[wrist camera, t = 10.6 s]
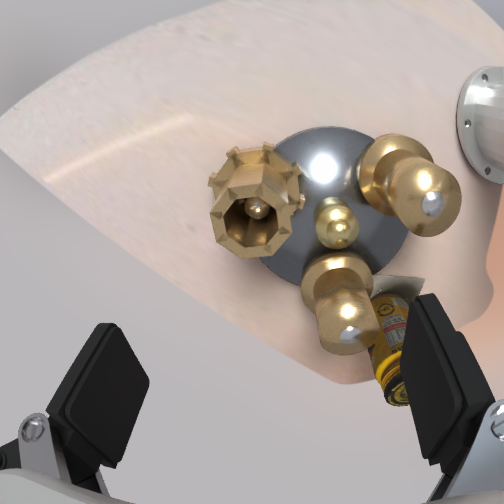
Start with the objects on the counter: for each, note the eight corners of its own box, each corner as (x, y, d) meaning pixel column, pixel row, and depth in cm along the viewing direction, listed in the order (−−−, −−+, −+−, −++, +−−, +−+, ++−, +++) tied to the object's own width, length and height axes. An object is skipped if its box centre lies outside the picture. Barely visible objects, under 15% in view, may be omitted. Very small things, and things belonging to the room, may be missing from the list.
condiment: (349, 332, 36) (367, 414, 25) (366, 273, 32) (399, 355, 21) (402, 333, 36) (430, 408, 25) (424, 277, 32) (468, 351, 21)
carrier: (420, 121, 24) (476, 138, 16) (415, 289, 32) (445, 346, 24) (230, 139, 26) (209, 160, 18) (263, 309, 35) (259, 374, 27)
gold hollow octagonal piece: (296, 137, 25) (305, 155, 18) (306, 222, 28) (316, 268, 21) (205, 151, 26) (179, 173, 19) (222, 232, 29) (205, 279, 22)
